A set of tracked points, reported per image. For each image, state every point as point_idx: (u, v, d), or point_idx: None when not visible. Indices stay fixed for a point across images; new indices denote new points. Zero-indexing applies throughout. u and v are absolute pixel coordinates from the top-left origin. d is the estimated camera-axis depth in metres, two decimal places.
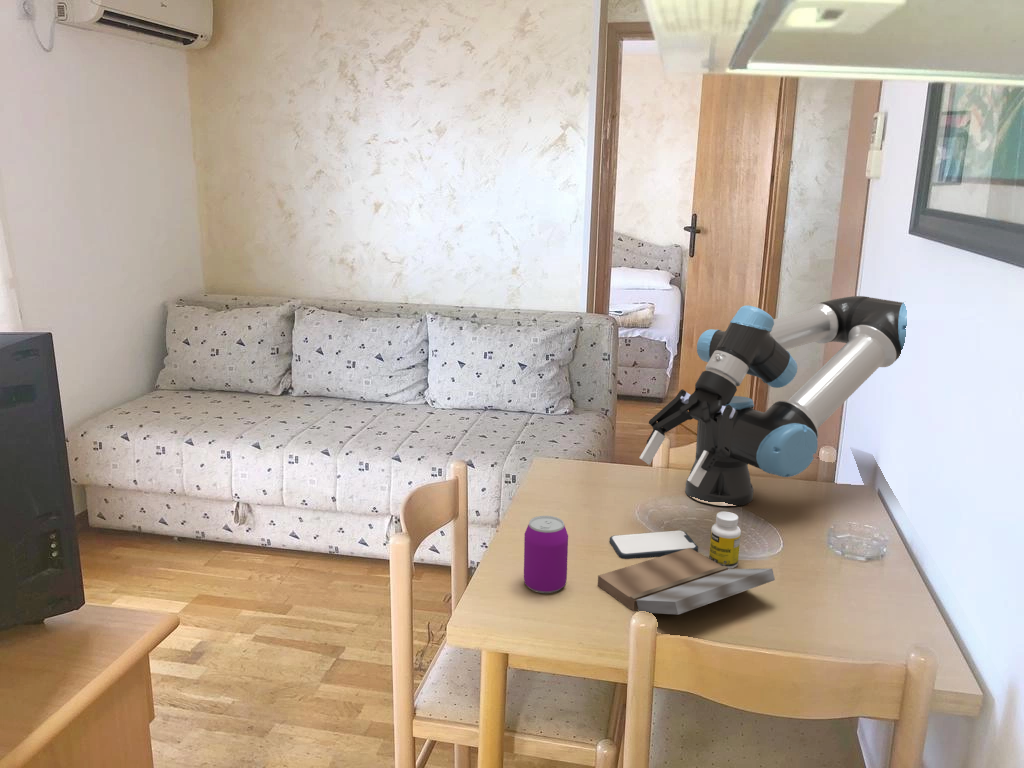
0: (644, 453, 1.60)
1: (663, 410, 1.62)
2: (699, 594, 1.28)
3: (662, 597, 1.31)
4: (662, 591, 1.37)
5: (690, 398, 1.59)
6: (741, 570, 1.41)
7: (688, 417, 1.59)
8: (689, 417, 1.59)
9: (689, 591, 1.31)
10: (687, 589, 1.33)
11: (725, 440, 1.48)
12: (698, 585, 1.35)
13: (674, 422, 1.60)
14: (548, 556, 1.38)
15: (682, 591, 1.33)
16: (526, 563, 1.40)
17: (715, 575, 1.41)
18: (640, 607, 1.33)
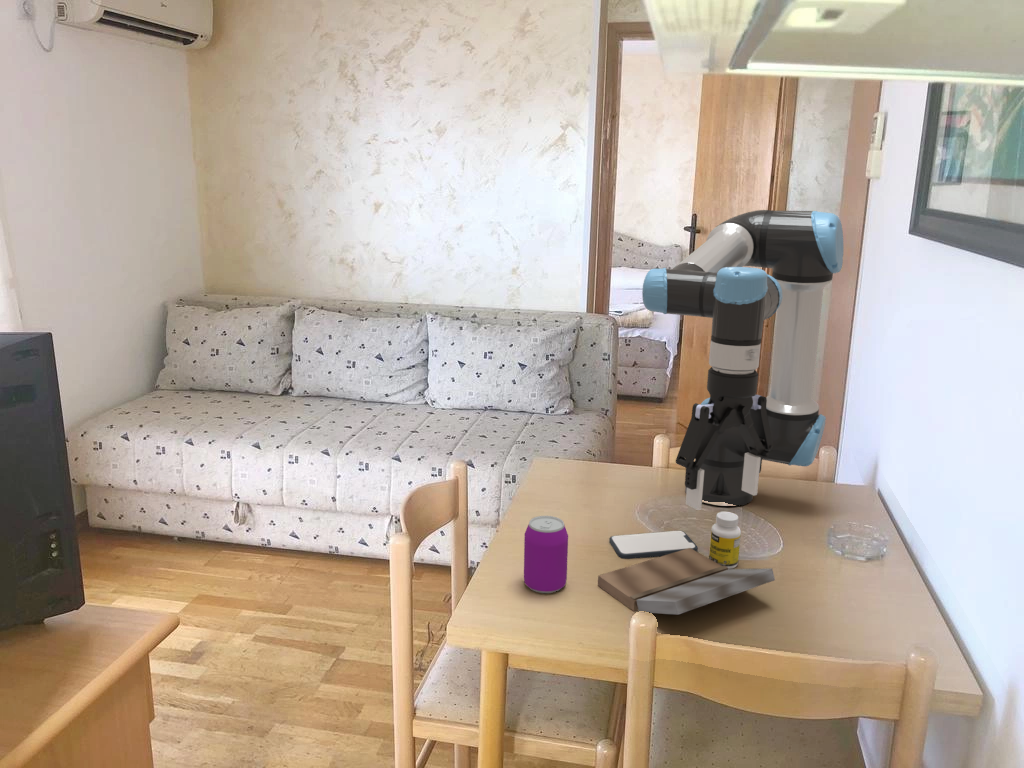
0: (701, 501, 1.25)
1: (696, 443, 1.21)
2: (699, 594, 1.28)
3: (662, 597, 1.31)
4: (662, 591, 1.37)
5: (719, 410, 1.23)
6: (741, 570, 1.41)
7: None
8: None
9: (689, 591, 1.31)
10: (687, 589, 1.33)
11: None
12: (698, 585, 1.35)
13: None
14: (548, 556, 1.38)
15: (682, 591, 1.33)
16: (526, 563, 1.40)
17: (715, 575, 1.41)
18: (640, 607, 1.33)
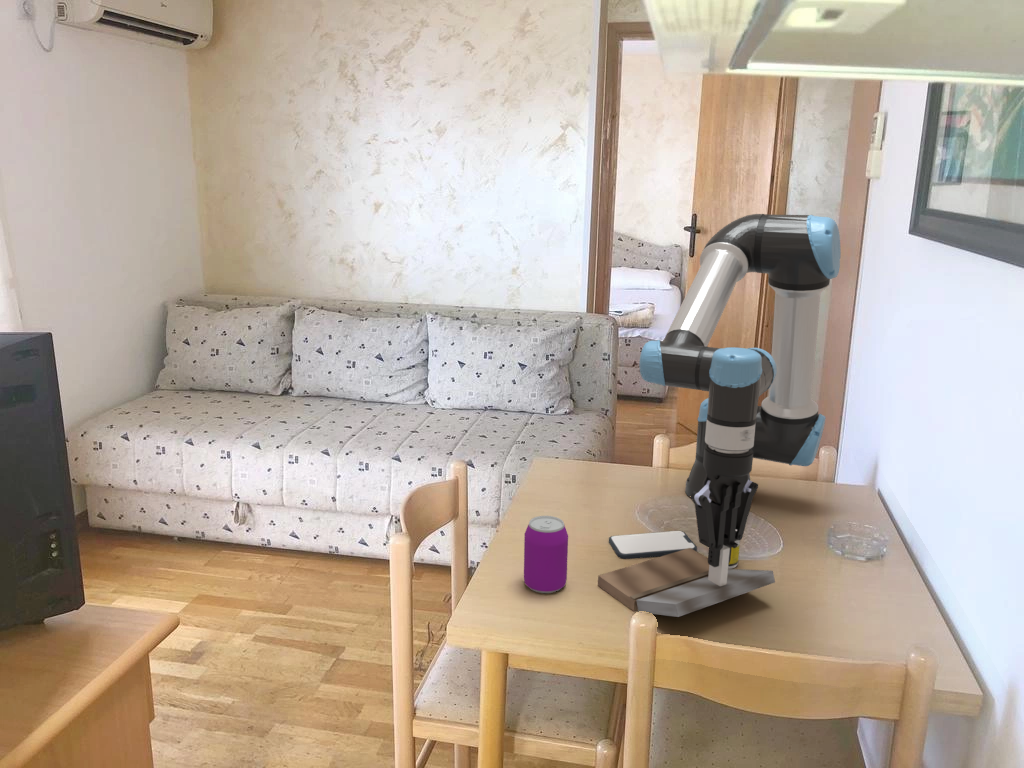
0: (723, 578, 1.31)
1: (710, 527, 1.26)
2: (699, 596, 1.28)
3: (662, 598, 1.31)
4: (662, 591, 1.37)
5: (715, 488, 1.25)
6: (741, 571, 1.41)
7: None
8: None
9: (689, 592, 1.31)
10: (687, 590, 1.33)
11: None
12: (698, 586, 1.35)
13: None
14: (548, 556, 1.38)
15: (682, 592, 1.33)
16: (526, 563, 1.40)
17: None
18: (640, 607, 1.33)
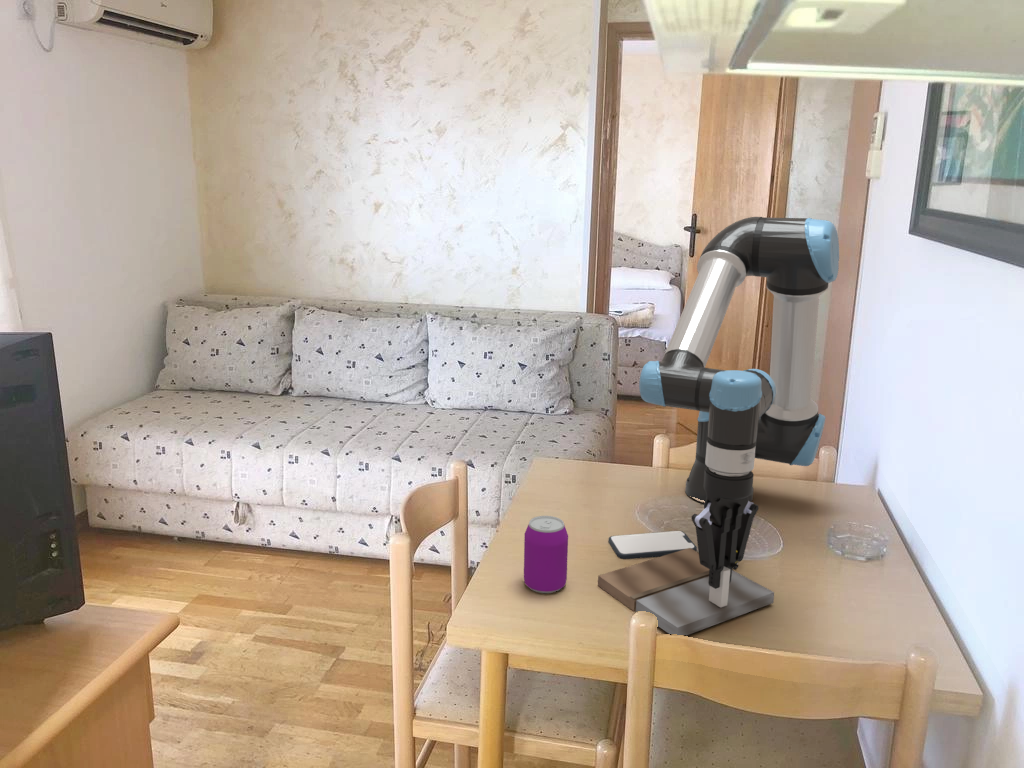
0: (724, 599, 1.31)
1: (710, 549, 1.27)
2: (701, 619, 1.28)
3: (663, 608, 1.31)
4: None
5: (716, 510, 1.26)
6: (742, 580, 1.41)
7: None
8: None
9: (690, 607, 1.31)
10: (688, 600, 1.34)
11: None
12: (699, 596, 1.35)
13: None
14: (548, 556, 1.38)
15: (683, 603, 1.33)
16: (526, 563, 1.40)
17: None
18: (638, 608, 1.33)
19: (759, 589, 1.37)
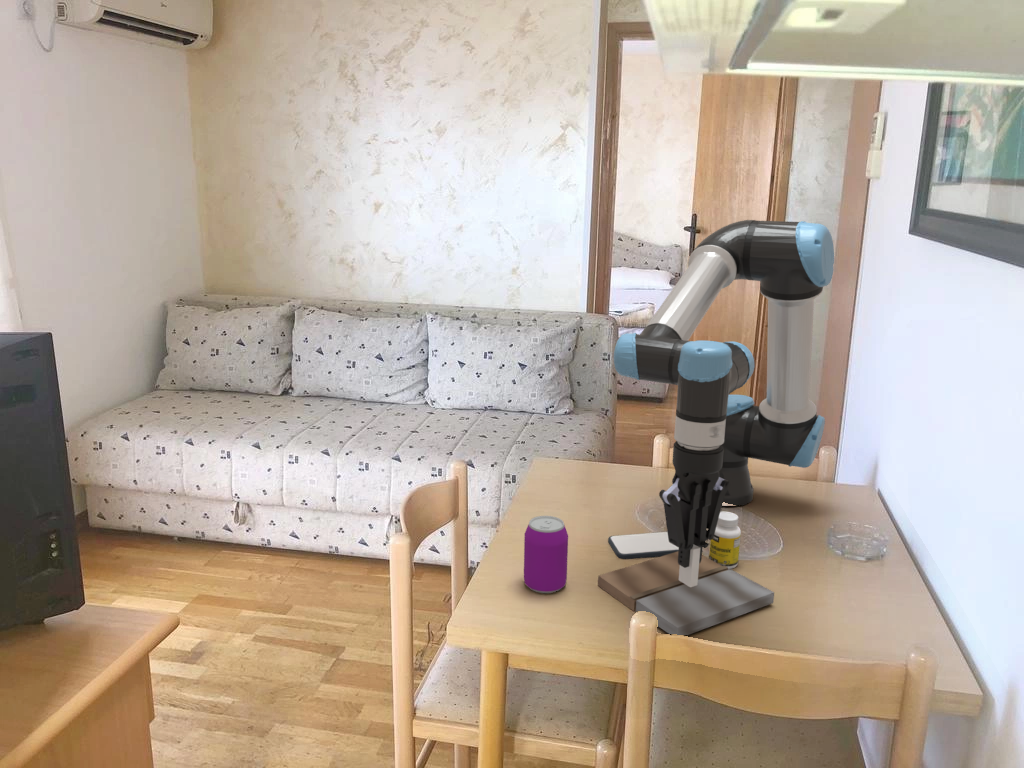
0: (694, 578, 1.27)
1: (679, 526, 1.22)
2: (701, 619, 1.28)
3: (663, 608, 1.31)
4: None
5: (684, 486, 1.21)
6: (742, 580, 1.41)
7: None
8: None
9: (690, 607, 1.31)
10: (688, 600, 1.34)
11: None
12: (699, 596, 1.35)
13: None
14: (548, 556, 1.38)
15: (683, 603, 1.33)
16: (526, 563, 1.40)
17: (715, 578, 1.41)
18: (638, 608, 1.33)
19: (759, 589, 1.37)
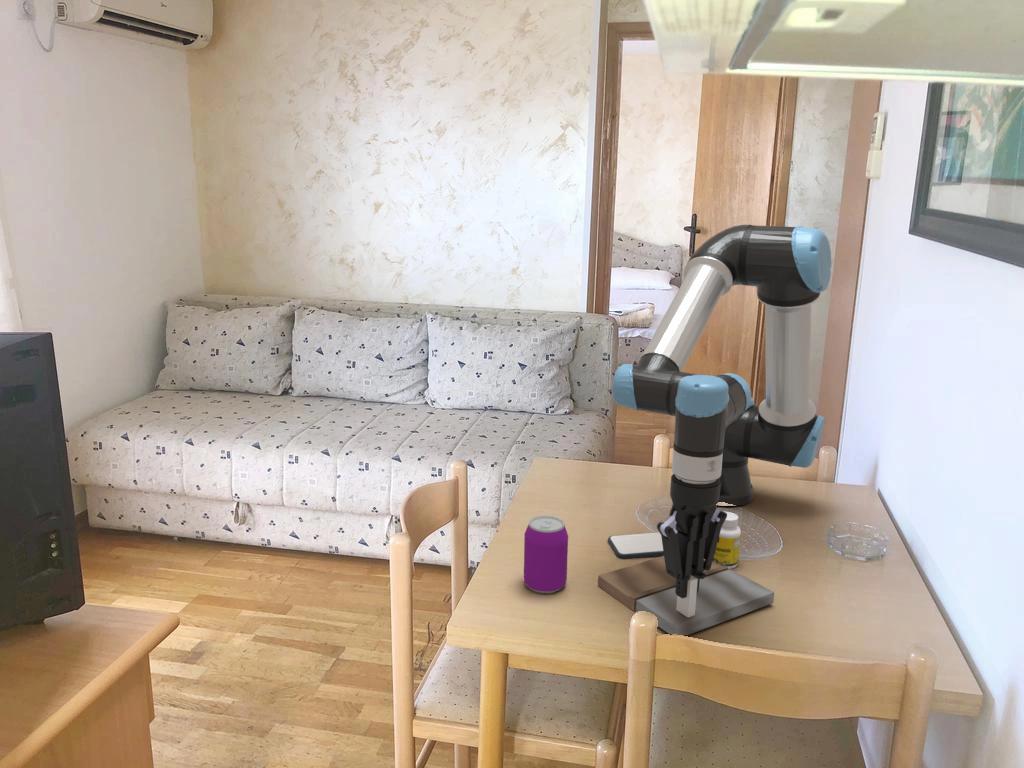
0: (691, 609, 1.28)
1: (676, 558, 1.24)
2: (701, 619, 1.28)
3: (663, 608, 1.31)
4: None
5: (682, 519, 1.22)
6: (742, 580, 1.41)
7: None
8: None
9: None
10: None
11: None
12: (699, 596, 1.35)
13: None
14: (548, 556, 1.38)
15: None
16: (526, 563, 1.40)
17: (715, 578, 1.41)
18: (638, 608, 1.33)
19: (759, 589, 1.37)
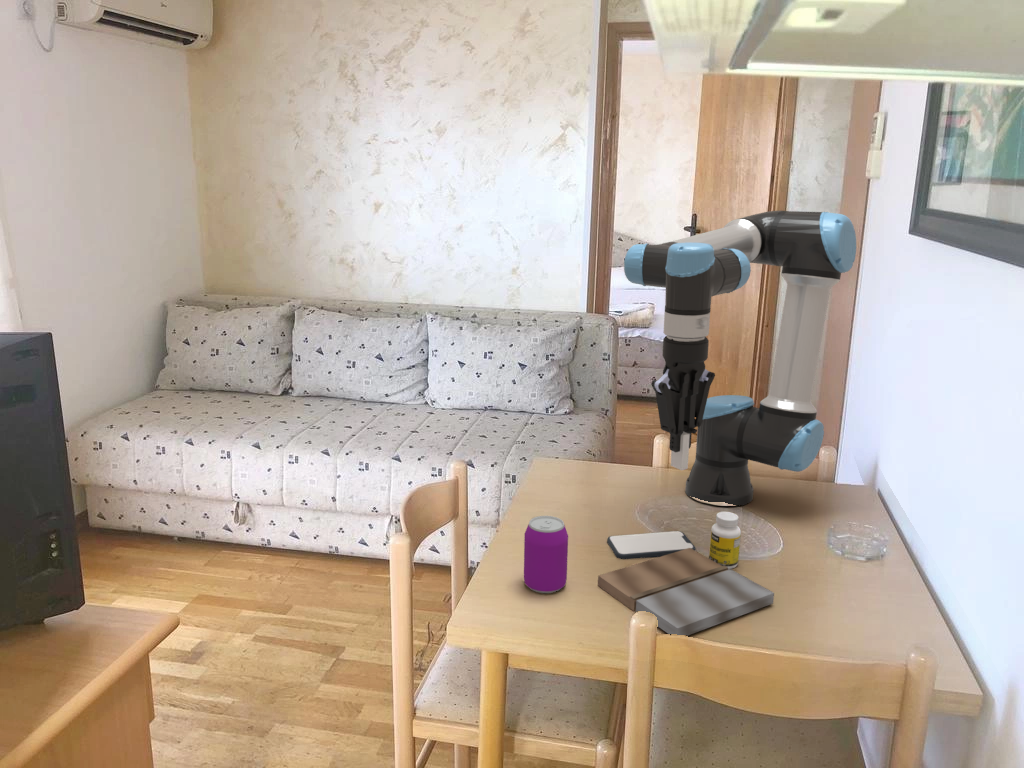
0: (684, 462, 1.40)
1: (670, 412, 1.35)
2: (701, 620, 1.28)
3: (663, 608, 1.31)
4: None
5: (674, 375, 1.34)
6: (742, 580, 1.41)
7: None
8: None
9: (690, 608, 1.31)
10: (688, 601, 1.34)
11: None
12: (699, 596, 1.35)
13: None
14: (548, 556, 1.38)
15: (683, 603, 1.33)
16: (526, 563, 1.40)
17: (715, 578, 1.41)
18: (638, 608, 1.33)
19: (759, 589, 1.38)
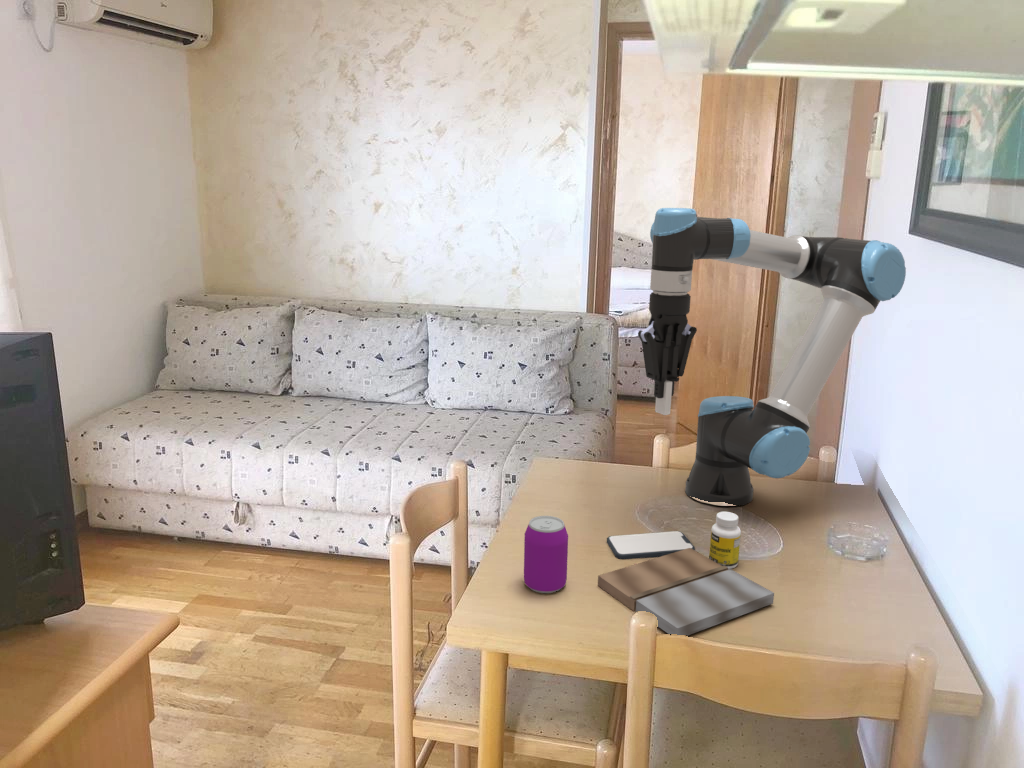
0: (667, 408, 1.54)
1: (654, 360, 1.50)
2: (701, 620, 1.28)
3: (663, 608, 1.31)
4: None
5: (658, 326, 1.49)
6: (742, 580, 1.41)
7: None
8: None
9: (690, 608, 1.31)
10: (688, 601, 1.34)
11: None
12: (699, 596, 1.35)
13: None
14: (548, 556, 1.38)
15: (683, 603, 1.33)
16: (526, 563, 1.40)
17: (715, 578, 1.41)
18: (638, 608, 1.33)
19: (759, 589, 1.38)
